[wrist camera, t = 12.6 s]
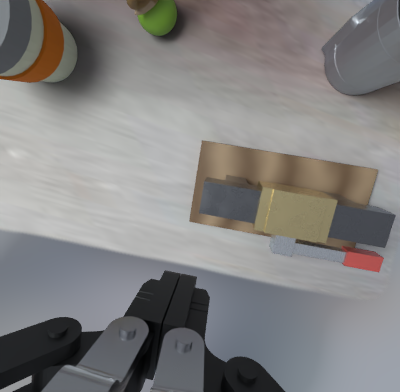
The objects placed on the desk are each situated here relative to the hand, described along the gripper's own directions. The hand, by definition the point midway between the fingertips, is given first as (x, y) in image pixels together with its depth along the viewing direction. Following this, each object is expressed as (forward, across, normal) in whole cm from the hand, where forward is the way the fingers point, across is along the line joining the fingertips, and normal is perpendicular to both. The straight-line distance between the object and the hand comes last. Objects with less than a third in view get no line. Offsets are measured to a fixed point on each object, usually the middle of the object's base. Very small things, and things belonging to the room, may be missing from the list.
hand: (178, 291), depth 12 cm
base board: (+32, -10, 0) cm, 34 cm away
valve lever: (+22, -9, +4) cm, 25 cm away
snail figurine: (+32, +12, -23) cm, 41 cm away
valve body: (+31, -10, 0) cm, 32 cm away
